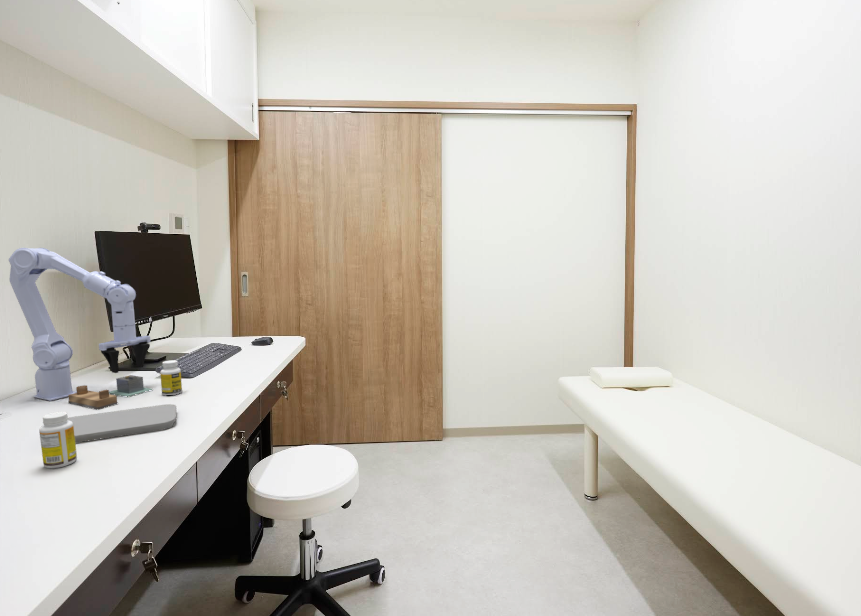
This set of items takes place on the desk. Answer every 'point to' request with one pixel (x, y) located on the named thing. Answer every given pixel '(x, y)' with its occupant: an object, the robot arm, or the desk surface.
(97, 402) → the plane body
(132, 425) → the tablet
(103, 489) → the desk surface
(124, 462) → the desk surface
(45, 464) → the supplement bottle
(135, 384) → the lever cap
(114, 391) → the mat
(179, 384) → the supplement bottle
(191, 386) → the desk surface
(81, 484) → the desk surface
